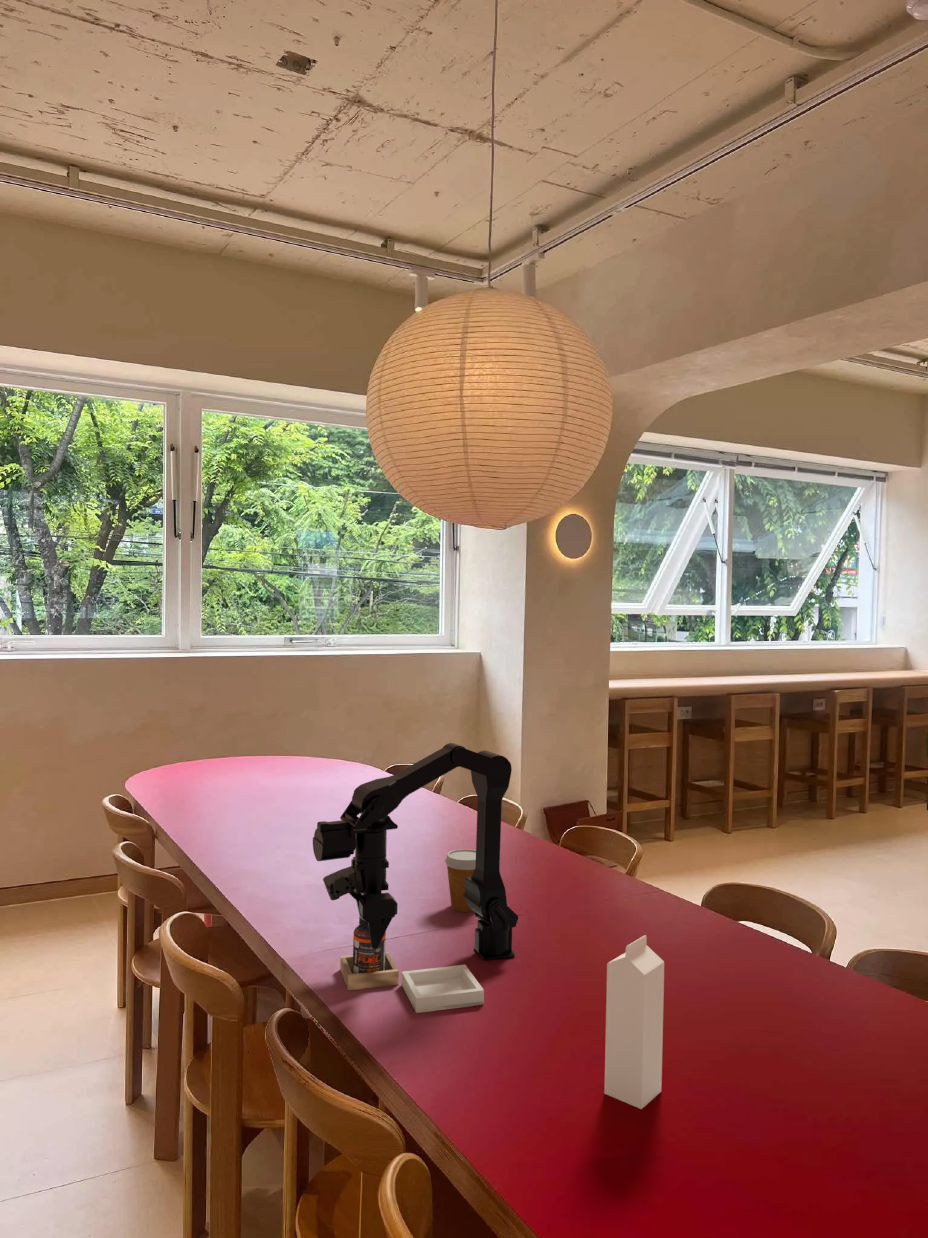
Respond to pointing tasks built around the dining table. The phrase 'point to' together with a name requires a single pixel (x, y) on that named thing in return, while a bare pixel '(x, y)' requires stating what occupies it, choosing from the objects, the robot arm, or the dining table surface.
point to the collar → (369, 974)
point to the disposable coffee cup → (460, 876)
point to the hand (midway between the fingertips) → (369, 938)
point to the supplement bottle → (367, 951)
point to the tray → (442, 988)
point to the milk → (634, 1025)
